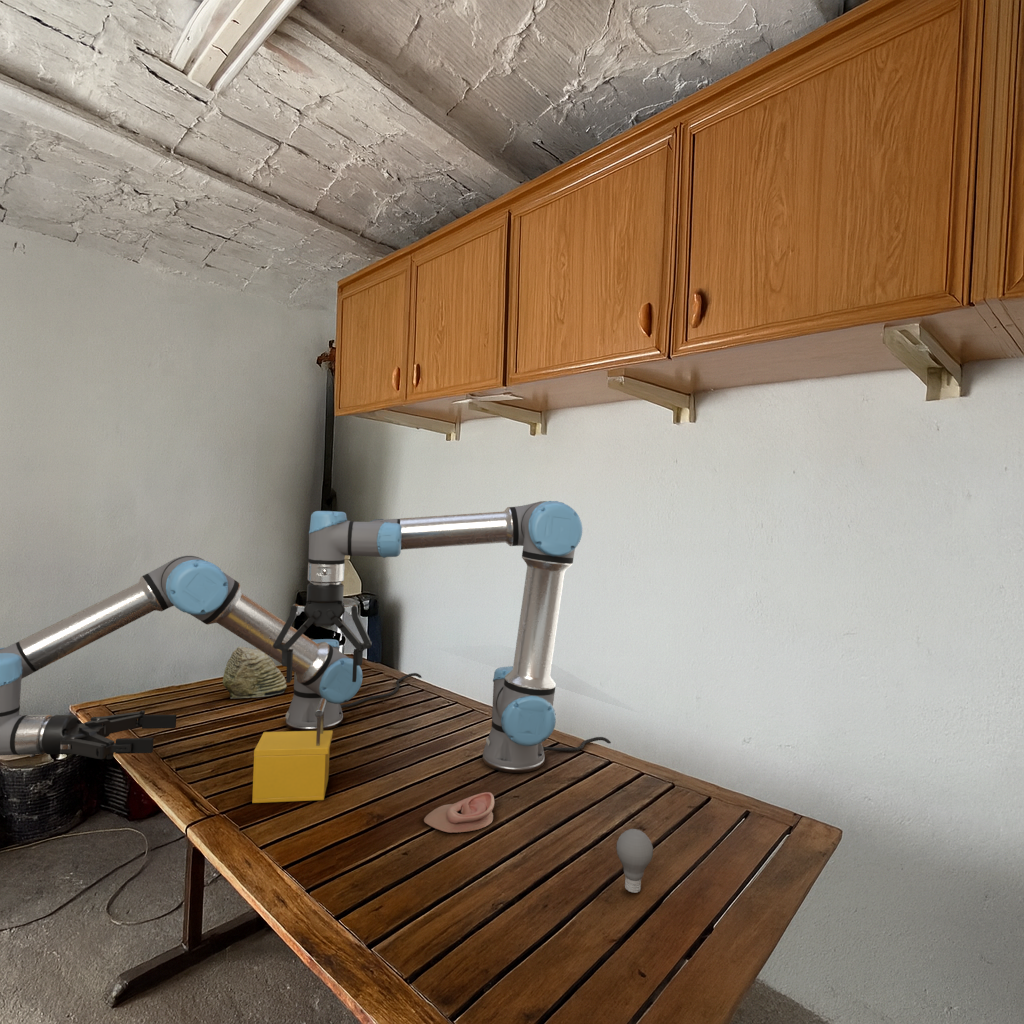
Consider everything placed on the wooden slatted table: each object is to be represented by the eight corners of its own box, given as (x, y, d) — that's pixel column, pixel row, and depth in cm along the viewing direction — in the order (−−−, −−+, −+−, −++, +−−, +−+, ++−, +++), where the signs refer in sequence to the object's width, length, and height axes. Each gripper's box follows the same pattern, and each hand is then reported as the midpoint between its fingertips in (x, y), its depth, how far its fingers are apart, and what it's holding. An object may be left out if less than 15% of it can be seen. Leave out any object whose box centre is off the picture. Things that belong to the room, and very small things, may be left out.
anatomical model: (419, 808, 122) (437, 782, 134) (418, 828, 122) (437, 801, 134) (485, 817, 120) (499, 791, 131) (484, 838, 120) (498, 810, 131)
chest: (328, 778, 142) (330, 736, 142) (323, 800, 132) (325, 754, 132) (262, 781, 140) (263, 738, 140) (252, 803, 130) (253, 756, 130)
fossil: (218, 695, 195) (220, 647, 195) (278, 685, 208) (279, 640, 207) (228, 703, 189) (230, 653, 188) (289, 692, 201) (290, 645, 201)
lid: (332, 736, 142) (334, 696, 142) (328, 754, 132) (329, 711, 132) (263, 737, 140) (265, 697, 139) (253, 756, 130) (255, 713, 129)
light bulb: (610, 879, 108) (613, 822, 108) (644, 879, 109) (647, 822, 109) (619, 902, 102) (622, 840, 102) (655, 901, 103) (658, 840, 103)
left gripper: (78, 730, 139) (183, 729, 143) (12, 780, 115) (140, 776, 119) (80, 696, 139) (184, 696, 143) (14, 739, 114) (142, 737, 118)
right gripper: (261, 584, 130) (257, 686, 131) (384, 586, 135) (380, 685, 135) (268, 579, 138) (264, 676, 138) (384, 581, 142) (381, 675, 143)
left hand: (164, 732), depth 131 cm, fingers open, 13 cm apart
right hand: (322, 680), depth 137 cm, fingers open, 13 cm apart
